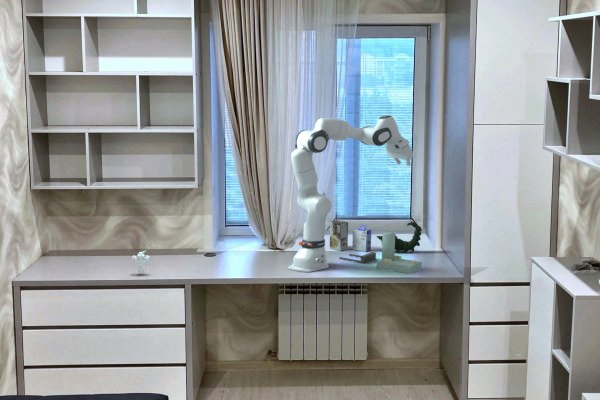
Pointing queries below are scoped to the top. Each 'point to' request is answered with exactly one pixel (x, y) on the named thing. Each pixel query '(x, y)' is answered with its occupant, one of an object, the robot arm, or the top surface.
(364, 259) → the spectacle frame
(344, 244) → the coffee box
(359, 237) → the ink cartridge box
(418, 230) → the toy figurine
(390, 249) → the flanged cylinder mount
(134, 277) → the top surface
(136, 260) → the hat wearing toy figure
